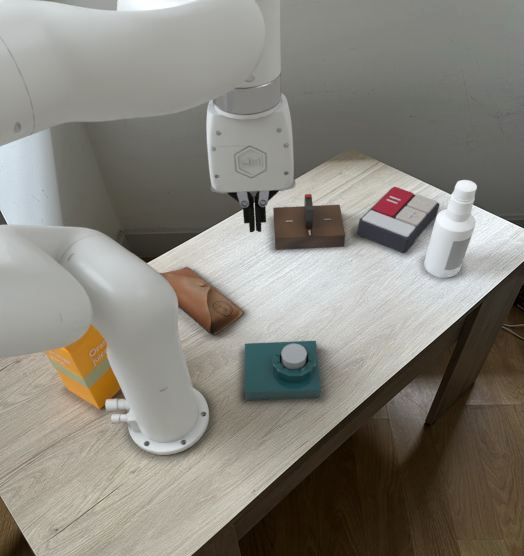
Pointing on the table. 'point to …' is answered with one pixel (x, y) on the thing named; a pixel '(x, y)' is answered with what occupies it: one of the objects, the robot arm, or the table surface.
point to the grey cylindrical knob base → (280, 372)
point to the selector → (297, 236)
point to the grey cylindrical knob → (294, 356)
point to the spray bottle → (452, 232)
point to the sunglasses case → (202, 301)
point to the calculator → (398, 219)
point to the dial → (308, 211)
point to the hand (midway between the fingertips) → (255, 225)
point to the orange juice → (86, 368)
